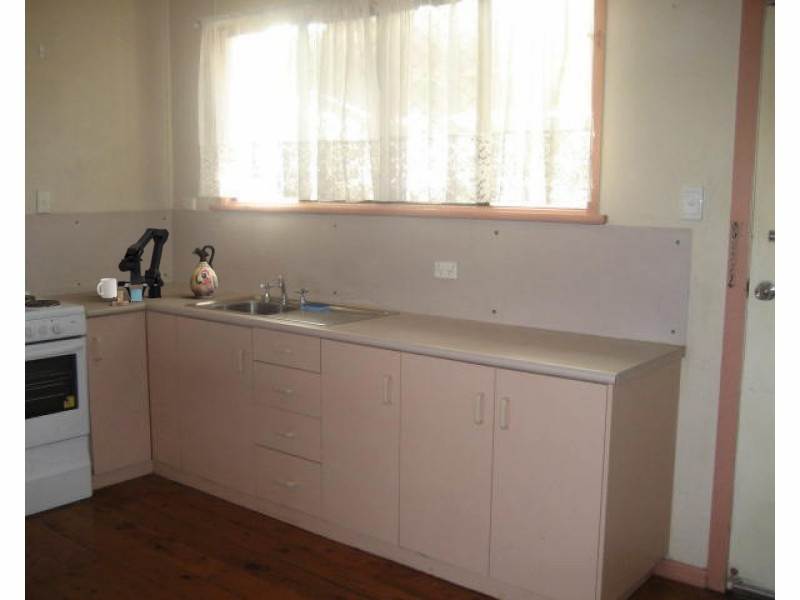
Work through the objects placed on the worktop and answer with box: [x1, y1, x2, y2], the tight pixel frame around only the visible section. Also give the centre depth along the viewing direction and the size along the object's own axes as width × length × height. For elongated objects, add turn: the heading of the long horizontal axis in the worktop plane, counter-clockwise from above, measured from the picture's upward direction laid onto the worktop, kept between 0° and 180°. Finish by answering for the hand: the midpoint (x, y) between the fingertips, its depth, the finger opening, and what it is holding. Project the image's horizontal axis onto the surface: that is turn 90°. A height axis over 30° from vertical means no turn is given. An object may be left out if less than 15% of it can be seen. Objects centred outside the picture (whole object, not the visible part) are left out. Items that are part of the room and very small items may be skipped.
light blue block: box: [130, 287, 143, 303], centre depth 434 cm, size 6×6×7 cm
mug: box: [96, 277, 118, 299], centre depth 446 cm, size 12×8×10 cm
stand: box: [112, 290, 130, 307], centre depth 421 cm, size 8×8×7 cm
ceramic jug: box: [189, 244, 219, 300], centre depth 446 cm, size 17×15×30 cm
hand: (136, 298), depth 434 cm, fingers closed on light blue block, 6 cm apart
